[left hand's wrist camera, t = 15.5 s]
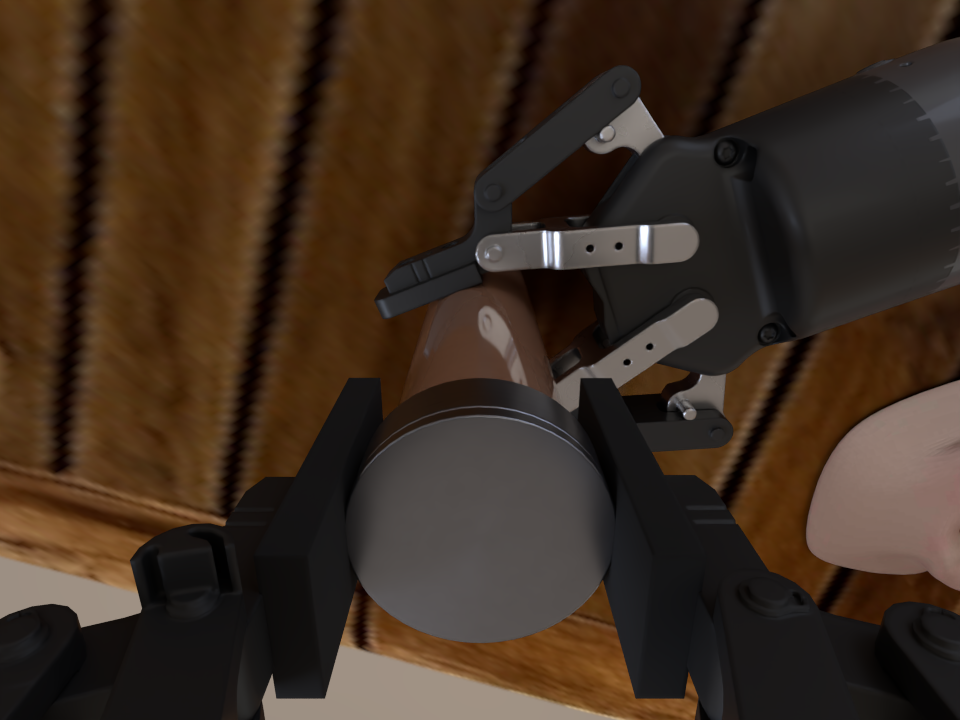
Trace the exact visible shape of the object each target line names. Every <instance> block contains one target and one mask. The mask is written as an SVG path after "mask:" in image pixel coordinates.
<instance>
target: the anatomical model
mask: <svg viewBox="0 0 960 720" xmlns="http://www.w3.org/2000/svg"><path fill="white" fill-rule="evenodd" d="M806 539H807V544H808V547H809V549H810V550H811V552H812V553H813V554H814V555H815V556H817V557H818V558H820V559H822V560H824V561H826V562H829V563H832V564H835V565H839V566H843V567H847V568H852V569H857V570H862V571H867V572H874V573H885V574H904V575H905V574H916V573H921V572H925V571H928V572H929V573H930V574H931V575H933V576H934V577H935V578H936V579H938V580H940V581H941V582H943V583H944V584H946V585H947V586H949V587H951V588H954V589H956V590H960V380H958V381H954V382H951V383H948V384H945V385H942V386H939V387H936V388H934V389H931V390H928V391H925V392H922V393H919V394H917V395H914V396H912V397H909V398H907V399H904V400H902V401H899V402H897V403H895V404H893V405H891V406H888V407H886V408H884V409H882V410H880V411H878V412H877V413H875V414H873V415H871V416H869V417H868V418H866V419H865V420H863V421H862V422H860V423H859V424H858V425H856V426H855V427H854V428H853V429H852V430H850V431H849V432H848V433H847V434H846V435H845V437H844V438H843V439H842V440H841V441H840V442H839V443H838V445H837V446H836V448H835V449H834V451H833V452H832V454H831V455H830V457H829V459H828V461H827V463H826V465H825V466H824V468H823V471H822V473H821V475H820V478H819V480H818V483H817V486H816V489H815V492H814V495H813V498H812V502H811V506H810V510H809V515H808V521H807V528H806Z"/></svg>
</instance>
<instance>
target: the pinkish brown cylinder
mask: <svg viewBox="0 0 960 720" xmlns="http://www.w3.org/2000/svg"><path fill="white" fill-rule="evenodd" d="M482 277H483V283H481V284H478V285H475V286H473V287H470V288H467V289H465V290H462V291H459V292H456V293H454V294H451V295H449V296H446V297H444V298H441V299H439V300H436V301H433V302H431V303H429V306H428V309H427V312H426V316H425V319H424V322H423V325H422V329H421V332H420V335H419V339H418V342H417V345H416V348H415V352H414V355H413V358H412V362H411V365H410V368H409V372H408V375H407V378H406V381H405V385H404V388H403V391H402V395H401V398H400V401H399V404H398V406H399V405H400V404H401V403H403V402H404V401H406V400H407V399H409V398H411V397H412V396H414V395H415V394H417V393H419V392H421V391H424V390H426V389H428V388H430V387H433V386H436V385H439V384H442V383H445V382H450V381H455V380H460V379H471V378H490V379H500V380H506V381H512V382H515V383H518V384H522V385H525V386H528V387H531V388H533V389H535V390H537V391H540V392H542V393H544V394H545V395H547V396H549V397H550V398H552V399H554V400H555V401H557V402H558V403H559V404H560V405H562V402H561V399H560V395H559V392H558V389H557V386H556V382H555V379H554V376H553V372H552V369H551V366H550V363H549V359H548V356H547V353H546V349H545V346H544V343H543V340H542V336H541V333H540V330H539V327H538V323H537V320H536V317H535V313H534V310H533V307H532V304H531V300H530V297H529V294H528V290H527V287H526V284H525V281H524V278H523V275H522V273H521V271H520V270H512V271H500V272H487V273H485V274H482ZM562 406H563V405H562Z"/></svg>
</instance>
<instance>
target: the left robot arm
mask: <svg viewBox="0 0 960 720" xmlns="http://www.w3.org/2000/svg"><path fill="white" fill-rule="evenodd" d="M382 422H383V415H382V399H381V384H380V378H349V379H348V381H347V383H346V385H345V386H344V388H343V390H342V392H341V394H340V396H339V398H338V399H337V401H336V403H335V405H334V407H333V409H332V411H331V412H330V414H329V416H328V418H327V420H326V422H325V423H324V425H323V427H322V429H321V431H320V433H319V435H318V436H317V438H316V440H315V442H314V444H313V446H312V448H311V449H310V451H309V453H308V455H307V457H306V459H305V461H304V462H303V464H302V466H301V468H300V470H299V472H298V474H297V475H296V477H265V478H264V479H263V480H261V481H260V482H258V483H257V484H256V485H254V486H253V487H252V488H250V489H249V490H247V491H246V492H245V494H244V495H243V497H242V498H241V500H240V501H239V503H238V504H237V506H236V508H235V512H232V514H231V515H230V517H229V518H228V520H227V521H226V525H225V526H223V527H222V526H218V525H214V524H190V525H186V526H182V527H178V528H174V529H171V530H169V531H166V532H164V533H162V534H160V535H158V536H155V537H154V538H152V539H151V540H149V541H148V542H147V543H145V544H144V545H143V546H141V547H140V548H139V549H138V550H137V552H136V553H135V554H134V556H133V557H132V558H131V560H130V562H131V566H132V570H133V574H134V578H135V582H136V586H137V590H138V594H139V598H140V602H141V606H142V610H141V613H139V614H135V615H132V616H129V617H125V618H121V619H117V620H113V621H108V622H104V623H100V624H95V625H91V626H87V627H82V628H81V626H80V623H79V620H78V617H77V614H76V613H75V612H74V611H73V610H71V609H70V608H69V607H68V606H62V605H56V604H48V605H40V606H32V607H29V608H26V609H23V610H20V611H17V612H14V613H12V614H9V615H7V616H5V617H3V618H1V619H0V720H265V717H264V710H263V704H262V699H263V696H264V693H265V691H266V688H267V686H268V683H269V680H270V678H271V675H272V674H273V680H274V686H275V692H276V698H325V696H326V692H327V689H328V685H329V682H330V678H331V674H332V671H333V667H334V663H335V660H336V656H337V652H338V649H339V645H340V642H341V638H342V634H343V631H344V627H345V623H346V620H347V616H348V613H349V609H350V605H351V602H352V598H353V594H354V591H355V587H356V583H357V580H358V578H357V576H356V574H355V573H354V571H353V569H352V566H351V563H350V560H349V556H348V547H347V537H346V526H345V510H346V506H347V502H348V499H349V495H350V492H351V490H352V487H353V484H354V481H355V479H356V476H357V473H358V470H359V468H360V465H361V462H362V459H363V457H364V454H365V451H366V449H367V446H368V444H369V442H370V440H371V438H372V436H373V434H374V433H375V431H376V430H377V428H378V427H379V425H380V424H381V423H382ZM578 422H579V423H580V424H581V426H582V427H583V429H584V430H585V431H586V433H587V434H588V436H589V438H590V440H591V442H592V444H593V446H594V449H595V452H596V454H597V457H598V460H599V463H600V465H601V468H602V471H603V474H604V476H605V479H606V482H607V484H608V487H609V490H610V493H611V496H612V499H613V502H614V505H615V511H616V521H615V532H614V543H613V553H612V560H611V563H610V566H609V568H608V570H607V572H606V574H605V576H604V578H603V581H604V585H605V589H606V592H607V596H608V600H609V603H610V607H611V610H612V614H613V618H614V621H615V625H616V629H617V632H618V636H619V639H620V643H621V647H622V650H623V654H624V658H625V661H626V665H627V669H628V672H629V676H630V679H631V683H632V687H633V690H634V694H635V698H680V699H684V696H685V690H686V684H687V678H688V672H689V673H690V676H691V679H692V681H693V684H694V686H695V689H696V691H697V694H698V697H699V699H698V704H697V710H696V716H695V720H960V616H959V615H957V614H956V613H954V612H951V611H948V610H946V609H942V608H940V607H936V606H934V605H931V604H924V603H917V602H903V603H897V604H893V605H892V606H891V607H890V608H888V609H887V610H886V611H885V612H884V616H883V619H882V622H881V626H880V625H876V624H872V623H867V622H863V621H858V620H854V619H850V618H845V617H841V616H837V615H833V614H830V613H827V612H823V611H820V610H819V609H818V607H817V606H816V604H815V603H814V601H813V599H812V598H811V596H810V595H809V594H808V593H807V592H806V591H804V590H803V589H802V588H801V587H800V586H798V585H797V584H796V583H795V582H793V581H791V580H789V579H787V578H785V577H783V576H781V575H779V574H776V573H772V572H769V571H768V569H767V568H766V566H765V565H764V563H763V562H762V560H761V559H760V557H759V556H758V554H757V553H756V551H755V550H754V548H753V547H752V545H751V543H750V542H749V540H748V539H747V537H746V536H745V534H744V533H743V531H742V530H741V528H740V527H739V525H738V524H736V523H735V519H734V518H733V516H732V515H731V513H730V512H729V510H726V506H725V504H724V503H723V501H722V500H721V498H720V497H719V495H718V494H717V492H716V491H715V489H713V488H712V487H710V486H709V485H708V484H706V483H705V482H704V481H702V480H701V479H699V478H698V477H697V476H695V475H664V474H663V472H662V471H661V469H660V467H659V465H658V463H657V461H656V459H655V458H654V456H653V454H652V452H651V450H650V448H649V446H648V445H647V443H646V441H645V439H644V437H643V435H642V433H641V432H640V430H639V428H638V426H637V424H636V422H635V421H634V419H633V417H632V415H631V413H630V411H629V409H628V408H627V406H626V404H625V402H624V400H623V398H622V396H621V395H620V393H619V391H618V389H617V387H616V385H615V383H614V382H613V380H612V378H580V393H579V408H578Z"/></svg>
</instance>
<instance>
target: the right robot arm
mask: <svg viewBox="0 0 960 720" xmlns="http://www.w3.org/2000/svg"><path fill="white" fill-rule="evenodd" d="M640 91H641V81H640V78H639V75H638V74H637V72H636V71H635V70H634V69H632V68H631V67H628V66H623V65H621V66H616V67H614V68H612V69H610V70H608V71H606V72H604V73H602V74H600V75H598V76H596V77H595V78H593V79H592V80H591V81H590V82H589V83H588V84H586V85H585V86H584V87H583V88H582V89H580V90H579V91H578V92H577V93H576V94H574V95H573V96H572V97H571V98H570V99H568V100H567V101H566V102H565V103H564V104H562V105H561V106H560V107H559V108H558V109H556V110H555V111H554V112H553V113H552V114H550V115H549V116H548V117H547V118H546V119H544V120H543V121H542V122H541V123H540V124H538V125H537V126H536V127H535V128H534V129H532V130H531V131H530V132H529V133H528V134H526V135H525V136H524V137H523V138H522V139H520V140H519V141H518V142H517V143H516V144H514V145H513V146H512V147H511V148H510V149H508V150H507V151H506V152H505V153H504V154H502V155H501V156H500V157H499V158H498V159H496V160H495V161H494V162H493V163H492V164H490V165H489V166H488V167H487V168H486V169H484V170H483V171H482V172H481V173H480V174H479V175H478V176H477V178H476V181H475V186H474V207H475V221H474V225H473V227H472V229H471V230H470V231H469V232H468V233H467V234H466V235H465V236H463V237H461V238H459V239H456V240H454V241H451V242H449V243H446V244H444V245H441V246H438V247H436V248H433V249H431V250H428V251H426V252H423V253H421V254H418V255H416V256H413V257H411V258H408V259H406V260H403V261H400V262H399V263H398V264H397V265H396V266H395V267H394V268H393V269H392V270H391V271H390V272H389V274H388V275H387V277H386V278H385V280H384V282H385V284H386V287H385V288H383V289H382V290H380V292H379V293H378V295H377V296H376V298H375V300H374V301H375V303H376V305H377V307H378V310H379V312H380V314H381V316H382V318H383V319H388V318H391V317H394V316H397V315H399V314H402V313H405V312H407V311H410V310H412V309H415V308H418V307H420V306H423V305H426V304H428V303H431V302H433V301H436V300H439V299H441V298H444V297H446V296H449V295H451V294H454V293H456V292H459V291H462V290H465V289H467V288H470V287H473V286H475V285H478V284H481V283H483V277H482V274H485V273H487V272H500V271H512V270H524V269H537V268H550V269H555V270H566V269H578V268H580V269H581V271H582V273H583V274H584V275H585V277H586V278H587V280H588V281H589V283H590V284H591V286H592V287H593V298H594V311H595V314H596V317H597V321H595V322H594V323H592V324H591V325H590V326H588V327H587V328H585V329H584V330H583V331H581V332H580V333H579V334H578V335H577V336H576V337H575V338H574V340H573V342H572V343H571V344H570V345H569V346H568V347H566V348H565V349H564V350H562V351H561V352H559V353H558V354H556V355H555V356H554V357H552V358H551V359H549V363H550V366H551V369H552V372H553V376H554V379H555V382H556V386H557V389H558V392H559V395H560V399H561V402H562V405H563V407H564V408H565V409H567V410H568V411H569V412H570V413H571V414H572V415H573V416H574V417H575V418H576V420H577V421H578V408H579V393H580V378H612V380H613V382H614V383H615V385H616V387H617V388H619V387H620V386H622V385H623V384H625V383H626V382H628V381H629V380H631V379H632V378H633V377H635V376H636V375H638V374H639V373H641V372H642V371H644V370H645V369H647V368H648V367H650V366H651V365H653V364H654V363H658V364H662V365H666V366H670V367H674V368H678V369H682V370H686V371H690V373H689V375H688V376H687V377H686V378H684V379H683V380H680V381H677V382H673V383H669V384H667V385H666V386H665V388H664V389H663V391H662V393H661V394H646V395H630V396H622V398H623V400H624V402H625V404H626V406H627V408H628V409H629V411H630V413H631V415H632V417H633V419H634V421H635V422H636V424H637V426H638V428H639V430H640V432H641V433H642V435H643V437H644V439H645V441H646V443H647V445H648V446H649V448H650V450H651V452H658V451H674V450H690V449H705V448H718V447H721V446H724V445H725V444H727V443H728V442H729V441H730V439H731V438H732V435H733V427H732V425H731V423H730V422H729V421H728V420H727V419H726V418H725V416H724V414H723V404H724V391H725V378H726V374H727V373H729V372H731V371H733V370H734V369H736V368H737V367H738V366H739V365H741V364H742V363H743V362H744V361H745V360H746V359H747V358H748V357H749V356H750V355H752V354H753V353H754V352H756V351H758V350H759V349H761V348H763V347H766V346H769V345H773V344H778V343H783V342H789V341H794V340H798V339H802V338H805V337H808V336H811V335H814V334H817V333H820V332H822V331H825V330H828V329H831V328H834V327H837V326H840V325H843V324H846V323H849V322H851V321H854V320H857V319H860V318H863V317H866V316H869V315H872V314H875V313H878V312H880V311H883V310H886V309H889V308H892V307H895V306H898V305H901V304H903V303H906V302H909V301H912V300H915V299H918V298H921V297H924V296H926V295H929V294H932V293H935V292H938V291H941V290H944V289H947V288H950V287H953V286H956V285H958V284H960V37H958V38H954V39H951V40H947V41H944V42H941V43H938V44H935V45H932V46H929V47H926V48H923V49H921V50H918V51H915V52H912V53H910V54H907V55H905V56H902V57H900V58H897V59H890V60H886V61H885V60H883V61H880V62H877V63H875V64H873V65H870V66H868V67H866V68H864V69H862V70H860V71H859V72H857V74H856V75H854V76H852V77H850V78H847V79H844V80H842V81H839V82H837V83H834V84H832V85H829V86H827V87H824V88H822V89H819V90H817V91H814V92H812V93H809V94H807V95H804V96H802V97H799V98H797V99H794V100H791V101H789V102H786V103H784V104H781V105H779V106H776V107H774V108H771V109H769V110H766V111H764V112H761V113H759V114H756V115H754V116H751V117H749V118H746V119H744V120H741V121H739V122H736V123H734V124H731V125H729V126H726V127H724V128H721V129H719V130H716V131H713V132H711V133H708V134H706V135H702V136H698V137H692V138H689V137H683V136H663V134H662V133H661V131H660V130H659V128H658V126H657V125H656V123H655V122H654V120H653V119H652V117H651V116H650V114H649V112H648V111H647V109H646V108H645V106H644V105H643V103H642V102H641V100H640V98H639V95H640ZM581 146H583V147H584V148H585V149H586V150H587V151H589V152H592V153H597V154H605V153H609V152H611V151H612V150H614V149H616V148H619V147H625V148H627V149H628V150H629V151H631V153H632V156H631V157H630V159H629V160H628V162H627V163H626V164H625V166H624V167H623V169H622V170H621V172H620V173H619V175H618V176H617V177H616V179H615V180H614V182H613V183H612V185H611V186H610V188H609V189H608V190H607V192H606V193H605V195H604V196H603V198H602V199H601V201H600V202H599V203H598V205H597V206H596V208H595V209H594V211H593V212H592V213H591V214H584V215H572V216H561V217H549V218H543V219H540V220H536V221H525V222H513V223H512V202H513V201H514V200H516V199H517V198H518V197H519V196H520V195H522V194H523V193H524V192H525V191H527V190H528V189H529V188H530V187H532V186H533V185H534V184H535V183H537V182H538V181H539V180H540V179H542V178H543V177H544V176H545V175H546V174H548V173H549V172H550V171H551V170H553V169H554V168H555V167H556V166H558V165H559V164H560V163H561V162H563V161H564V160H565V159H566V158H568V157H569V156H570V155H571V154H572V153H574V152H575V151H576V150H577V149H579V148H580V147H581ZM625 359H626V360H625Z"/></svg>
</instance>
